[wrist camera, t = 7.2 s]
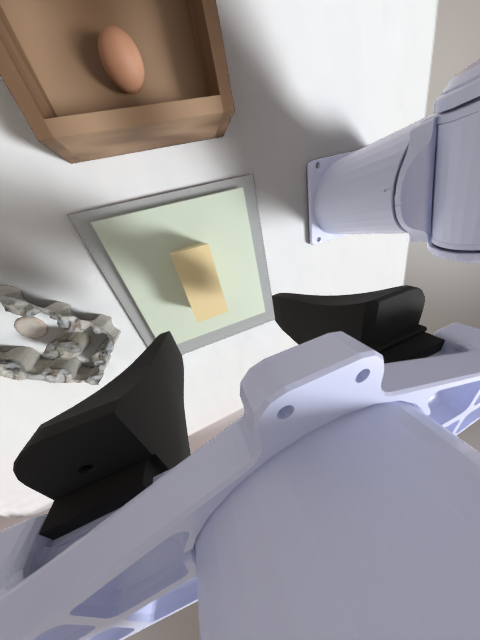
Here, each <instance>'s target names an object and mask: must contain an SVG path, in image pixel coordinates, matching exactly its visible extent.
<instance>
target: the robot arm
mask: <svg viewBox="0 0 480 640" xmlns="http://www.w3.org/2000/svg"><path fill="white" fill-rule="evenodd" d="M316 164H317V168H316ZM307 177H308V204H309V230H310V243H311V245H316V244H320V243H323V242H326V241H329V240H332V239H335V238H339V237H342V236H345V235H348V234H390V233H409V235H410V241H411V242H427V248H428V250H429V252H430V253H432V254H433V255H435V256H437V257H440V258H443V259H448V260H452V261H457V262H466V263H480V59H479V60H477V61H476V62H474V63H473V64H471V65H470V66H468V67H467V68H465V69H464V70H463V71H461V72H460V73H458V74H457V75H455V76H454V77H453V78H452V79H451V80H450V82H449V83H448V85H447V86H446V88H445V89H444V90H443V93H442V94H440V95H439V96H438V97H437V99H436V100H435V102H434V113H433V114H431V115H430V116H427V117H425V118H423V119H421V120H419V121H417V122H415V123H413V124H411V125H409V126H407V127H405V128H403V129H401V130H399V131H397V132H395V133H392V134H390V135H388V136H386V137H384V138H382V139H380V140H378V141H376V142H374V143H372V144H370V145H368V146H366V147H364V148H362V149H360V150H356V151H352V152H347V153H343V154H338V155H334V156H329V157H325V158H320V159H316V160H312V161H310V162H309V163H308V166H307ZM317 238H319V239H318V241H317ZM272 301H273V308H274V315H275V321H276V322H277V324H278V325H279V326H280V327H281V329H282V330H283V331H284V332H285V333H286V334H288V335H289V336H290V337H291V338H292V339H293V340H294V341H295V342H296V343H298V344H299V345H298V346H295V347H293V348H290V349H288V350H285V351H283V352H280V353H278V354H275V355H273V356H270V357H268V358H266V359H264V360H262V361H261V362H259V363H257V364H256V365H254V366H253V367H251V368H250V369H249V370H248V372H247V373H246V375H245V376H244V378H243V379H242V381H241V383H240V397H241V400H242V403H243V406H244V415H243V416H242V417H240V418H239V419H238V420H237V421H235V422H234V423H232V424H231V425H230V426H229V427H227V428H226V429H224V430H223V431H222V432H220V433H219V434H218V435H216V436H215V437H214V438H212V439H211V440H210V441H209V442H207V443H206V444H205V445H203V446H202V447H200V448H199V449H198V450H196V451H195V452H194V453H193V454H190V448H189V442H188V434H187V427H186V419H185V410H184V366H183V359H182V355H181V352H180V350H179V348H178V346H177V344H176V342H175V340H174V338H173V336H172V334H171V332H170V331H167V332H164V333H161V334H159V335H158V336H157V337H156V338H155V339H154V341H153V342H152V343H151V344H150V345H149V346H148V347H147V349H146V350H145V351H144V352H143V353H142V354H141V355H140V356H139V357H138V358H137V359H136V360H135V361H134V362H133V363H132V364H131V365H130V366H129V367H128V368H127V369H126V370H125V371H123V372H122V373H121V374H120V375H119V376H117V377H116V378H115V379H113V380H112V381H111V382H109V383H108V384H107V385H105V386H104V387H103V388H101V389H100V390H99V391H97V392H96V393H94V394H93V395H91V396H90V397H88V398H86V399H85V400H83V401H82V402H80V403H78V404H77V405H75V406H74V407H72V408H70V409H68V410H67V411H65V412H63V413H61V414H60V415H58V416H56V417H54V418H52V419H51V420H49V421H47V422H45V423H43V424H41V425H40V426H39V428H38V429H37V431H36V432H35V433H34V435H33V436H32V437H31V439H30V440H29V442H28V443H27V444H26V446H25V447H24V448H23V450H22V451H21V452H20V454H19V455H18V457H17V458H16V460H15V462H14V467H13V471H14V473H15V475H16V477H17V479H18V480H19V481H20V482H22V483H23V484H24V485H26V486H28V487H30V488H32V489H33V490H35V491H37V492H39V493H41V494H43V495H45V496H47V497H49V498H51V499H53V500H54V502H53V505H52V507H51V509H50V511H49V513H48V514H42V515H37V516H33V517H31V518H29V519H26V520H24V521H22V522H20V523H18V524H16V525H14V526H11V527H9V528H7V529H5V530H2V531H0V640H123V639H125V638H127V637H129V636H131V635H133V634H134V633H137V632H139V631H140V630H142V629H144V628H146V627H148V626H150V625H152V624H154V623H156V622H158V621H160V620H162V619H164V618H165V617H167V616H169V615H171V614H173V613H175V612H177V611H179V610H181V609H182V608H185V607H187V606H189V605H190V604H193V603H195V602H196V601H198V609H199V628H200V640H480V452H478V451H477V450H475V449H474V448H472V447H471V446H470V445H468V444H467V443H465V442H464V441H462V440H461V439H460V438H459V437H457V436H456V435H458V434H459V433H460V432H462V431H463V430H464V429H466V428H467V427H468V426H470V425H471V424H472V423H474V422H475V421H476V420H478V419H479V418H480V329H477V328H473V327H470V326H467V325H463V324H460V323H452V324H450V325H448V326H445V327H443V328H441V329H439V330H437V331H436V332H435V333H434V334H433V335H431V334H429V333H426V332H425V331H426V330H427V328H426V327H425V326H422V325H419V320H420V317H421V314H422V311H423V308H424V303H425V296H424V294H423V291H422V290H421V289H419V288H417V287H413V286H408V285H406V286H399V287H394V288H389V289H385V290H380V291H374V292H368V293H361V294H352V295H339V296H317V295H303V294H292V293H278V294H276V295H273V296H272Z"/></svg>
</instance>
